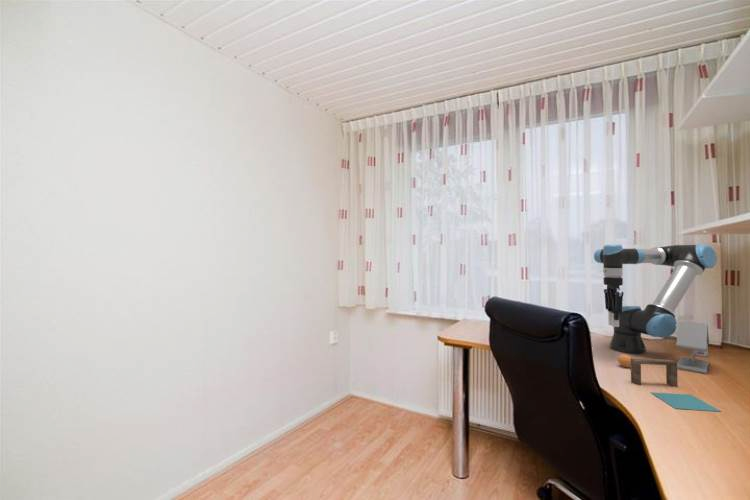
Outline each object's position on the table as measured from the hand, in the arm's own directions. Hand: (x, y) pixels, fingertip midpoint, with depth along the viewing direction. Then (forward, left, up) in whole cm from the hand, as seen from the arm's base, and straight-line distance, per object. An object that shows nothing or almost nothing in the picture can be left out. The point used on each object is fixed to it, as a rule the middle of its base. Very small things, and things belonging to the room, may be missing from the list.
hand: (613, 325), depth 162 cm
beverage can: (-15, +46, -17) cm, 51 cm away
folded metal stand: (+5, +30, -17) cm, 35 cm away
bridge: (+30, 0, -17) cm, 34 cm away
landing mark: (+46, 0, -17) cm, 48 cm away
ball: (+10, 0, -14) cm, 17 cm away
